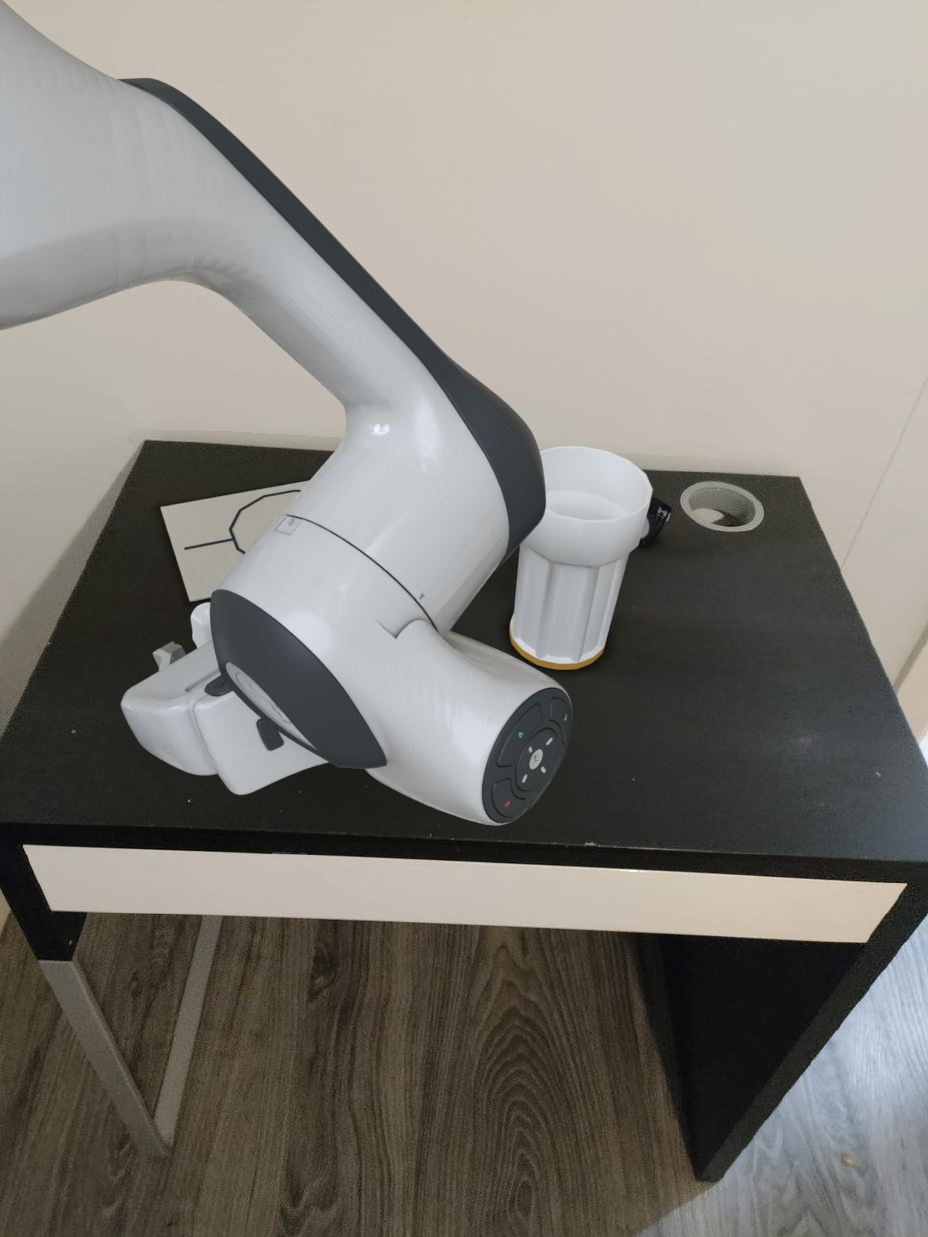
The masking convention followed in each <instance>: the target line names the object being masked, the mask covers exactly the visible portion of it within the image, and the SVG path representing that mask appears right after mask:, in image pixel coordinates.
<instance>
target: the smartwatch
mask: <svg viewBox="0 0 928 1237" xmlns="http://www.w3.org/2000/svg"><path fill="white" fill-rule="evenodd" d="M672 508H673V507H671V505H669V504H668V503H666V502H664V501H663V500H661V499H659V498H657V497H656V496H651V501H650V505H649V508H648V512H647V516H646V519H645V523H644V527H643V530H642V534H641V537H640V541H639V545H638V546H641V547H645V546H649V545H651V544H652V543H653V542H655V540H656V539H657V538H658V537H659V535H660V533H661V531H662V530H663V528H664V526H665V523H666V522H668V521H669V520H670V517H671V513H672V510H673V509H672Z"/></svg>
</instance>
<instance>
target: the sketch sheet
mask: <svg viewBox="0 0 928 1237" xmlns="http://www.w3.org/2000/svg"><path fill="white" fill-rule="evenodd" d="M309 481H310V480H305V481H300V482H294V483H287V484H284V485H276V486H271V487H265V488H260V489H254V490H248V491H243V492H237V493H231V494H227V495H221V496H215V497H210V498H204V499H198V500H193V501H187V502H182V503H175V504H170V505H165V506H160V511H161V515H162V518H163V520H164V524H165V527H166V531H167V534H168V536H169V539H170V542H171V543H170V544H171V546H172V549H173V552H174V555H175V558H176V562H177V566H178V568H179V571H180V574H181V578H182V581H183V585H184V588H185V591H186V594H187V597H188V601H189V602H190V603H191V602H192V603H194V602H197V601H201V600H207V599H211V594H212V592H213V591H215V590H216V589H217V588H218V586H219V585H220V583H221V582H222V581H223V579H224V578H225V577H226V575H227V574H228V573H229V572H230V570H231V569H232V568H233V567H234V566H235V565H236V563H237V562H238V561H239V560H240V559H241V557H242V556H243V555H244V554H245V553H246V552H247V550H248V549H249V548H250V547H251V546H252V545H253V543H254V542H255V541H256V540H257V539H258V538H259V536H260V535H261V534H262V533H263V532H264V531H265V529H266V528H267V527H268V526H269V525H270V524H271V522H272V521H273V520H274V519H275V518H276V517H277V516H280V515H281V513H282V512H283V511H284V510H285V509H286V508H287V506H288V505H289V504H290V503H291V502H292V501H293V499H294V498H295V497H296V496H297V495H298V494H299V492H300V491H301V490H302V489H303V488H304V487H305V485H306V484H307V483H308V482H309Z"/></svg>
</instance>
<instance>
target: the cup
mask: <svg viewBox="0 0 928 1237" xmlns="http://www.w3.org/2000/svg"><path fill="white" fill-rule="evenodd" d="M539 452H540V455H541V460H542V465H543V470H544V478H545V489H546V508H545V513H544V516H543V518H542V520H541V522H540V523H539V524H538V525H537V527H536V528H535V529H534V530H533V531H532V532H531V533H530V534H529V535H528V537H527V538H526V539H525V540H524V541H523V542H522V543H521V544H520V545H519V552H518V564H517V575H516V586H515V596H514V597H515V598H514V608H513V609H514V610H513V614H512V616H511V619H510V623H509V638H510V643H511V645H512V646H513V647H514V649H515V650H516V651H517V652H518V653H519V655H521V656H522V657H523V658H525V659H526V660H528V661H529V662H531V663H532V664H534V665H536V666H538V667H539V666H540V667H542V668H546V669H551V670H559V671H563V670H564V671H565V670H566V671H567V670H578V669H581V668H583V667H587V666H589V665H590V664H593V663H594V662H595V661H596V660H598V658H600V657H601V656H602V655H603V654H604V650H605V647H606V643H607V638H608V635H609V631H610V626H611V624H612V620H613V616H614V612H615V608H616V605H617V601H618V597H619V593H620V590H621V587H622V583H623V579H624V575H625V571H626V567H627V564H628V560H629V556H630V553H631V552H633V551H634V550H635V549H636V548H637V547H638V546H640V545H639V541H640V537H641V534H642V530H643V527H644V523H645V519H646V516H647V512H648V508H649V505H650V501H651V497H653V491H654V488H653V486H652V484H651V482H650V480H649V477H648V475H647V473H646V472H645V471H643V470H642V469H641V468H640V467H639V466H637V465H636V464H635V463H634V462H633V461H631V460H630V459H628V458H625V457H623V456H621V455H619V454H617V453H614V452H613V451H610V450H606V449H602V448H596V447H590V446H587V445H557V446H553V447H549V448H545V449H542V450H539Z"/></svg>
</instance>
